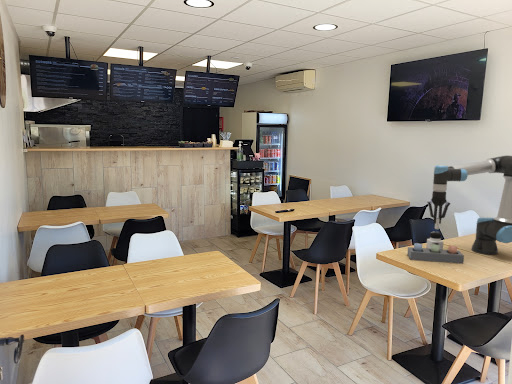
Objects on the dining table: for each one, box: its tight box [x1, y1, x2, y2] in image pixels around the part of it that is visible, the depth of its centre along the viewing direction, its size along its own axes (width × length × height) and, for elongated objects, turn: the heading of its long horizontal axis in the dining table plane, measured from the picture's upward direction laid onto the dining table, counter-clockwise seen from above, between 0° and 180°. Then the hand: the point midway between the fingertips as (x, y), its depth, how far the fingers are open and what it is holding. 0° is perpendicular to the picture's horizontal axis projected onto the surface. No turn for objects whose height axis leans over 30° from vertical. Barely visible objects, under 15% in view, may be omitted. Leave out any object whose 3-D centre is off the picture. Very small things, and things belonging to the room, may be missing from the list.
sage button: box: [431, 244, 440, 253], centre depth 236 cm, size 5×5×5 cm
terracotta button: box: [447, 244, 458, 254], centre depth 234 cm, size 5×5×5 cm
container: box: [425, 231, 444, 250], centre depth 253 cm, size 8×8×13 cm
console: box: [407, 246, 465, 265], centre depth 237 cm, size 30×11×5 cm, turn 77°
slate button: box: [413, 242, 423, 252], centre depth 238 cm, size 5×5×5 cm
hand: (436, 228), depth 234 cm, fingers closed
